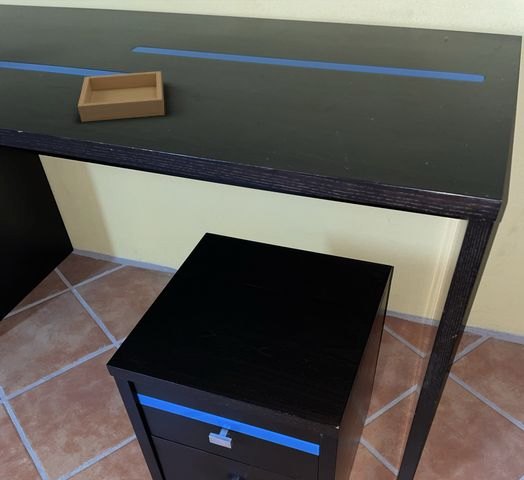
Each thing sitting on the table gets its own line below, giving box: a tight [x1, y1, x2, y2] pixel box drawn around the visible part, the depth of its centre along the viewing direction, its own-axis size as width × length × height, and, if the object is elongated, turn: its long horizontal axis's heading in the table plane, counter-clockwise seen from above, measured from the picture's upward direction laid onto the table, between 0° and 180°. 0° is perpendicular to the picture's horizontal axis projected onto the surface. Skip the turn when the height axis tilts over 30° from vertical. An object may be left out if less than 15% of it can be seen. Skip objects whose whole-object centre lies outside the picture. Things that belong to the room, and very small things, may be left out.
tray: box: [77, 71, 166, 122], centre depth 84 cm, size 13×13×3 cm
